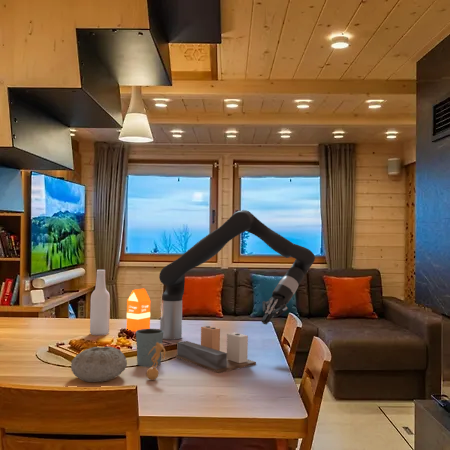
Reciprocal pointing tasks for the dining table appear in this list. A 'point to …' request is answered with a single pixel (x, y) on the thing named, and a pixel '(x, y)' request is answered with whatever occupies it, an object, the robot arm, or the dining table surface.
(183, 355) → the console
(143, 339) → the blue-grey cup
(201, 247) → the robot arm
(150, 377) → the figurine
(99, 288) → the alcohol
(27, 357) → the dining table surface
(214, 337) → the two dot button
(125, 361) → the grey rounded rock
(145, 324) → the orange juice
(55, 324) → the dining table surface
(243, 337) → the one dot button
